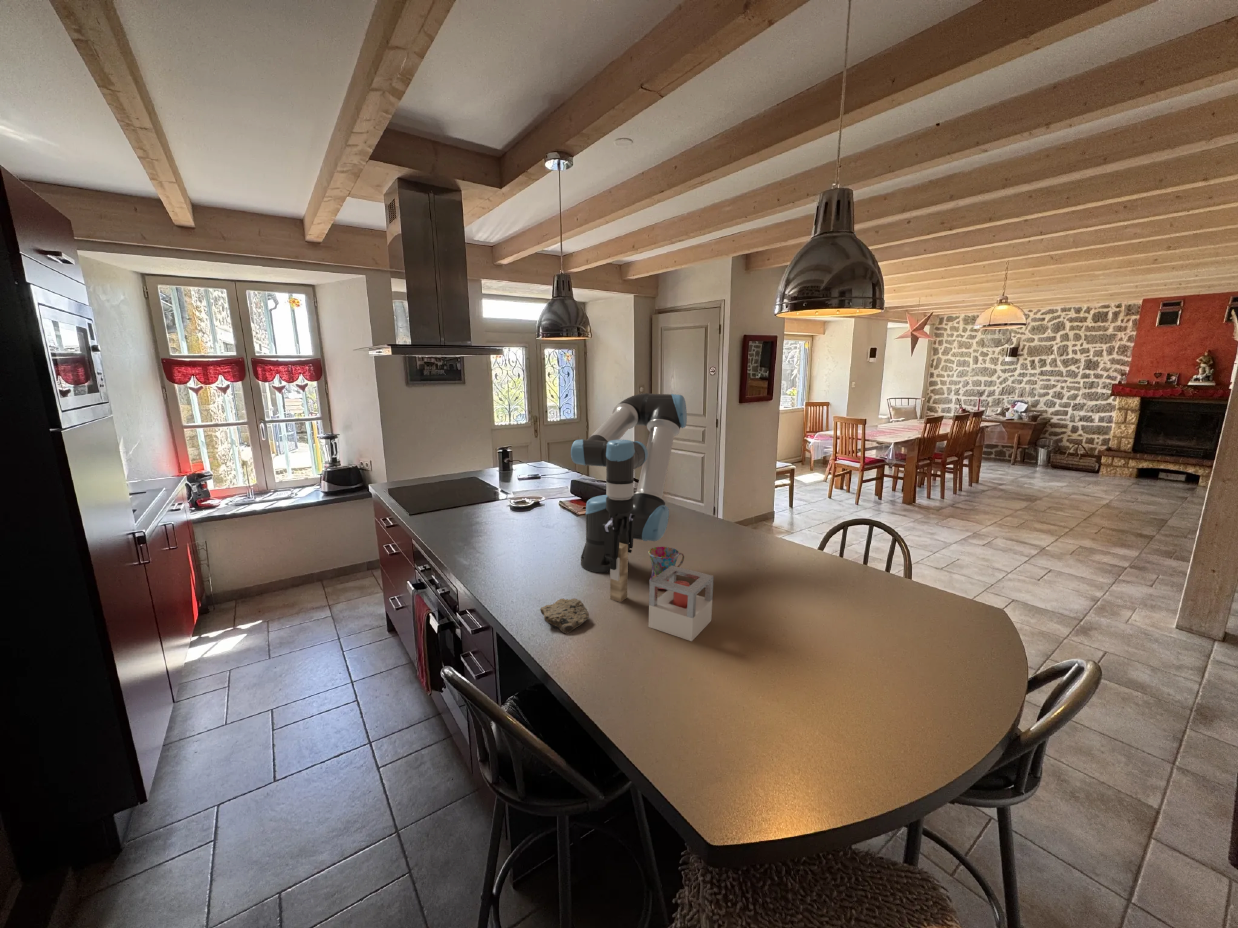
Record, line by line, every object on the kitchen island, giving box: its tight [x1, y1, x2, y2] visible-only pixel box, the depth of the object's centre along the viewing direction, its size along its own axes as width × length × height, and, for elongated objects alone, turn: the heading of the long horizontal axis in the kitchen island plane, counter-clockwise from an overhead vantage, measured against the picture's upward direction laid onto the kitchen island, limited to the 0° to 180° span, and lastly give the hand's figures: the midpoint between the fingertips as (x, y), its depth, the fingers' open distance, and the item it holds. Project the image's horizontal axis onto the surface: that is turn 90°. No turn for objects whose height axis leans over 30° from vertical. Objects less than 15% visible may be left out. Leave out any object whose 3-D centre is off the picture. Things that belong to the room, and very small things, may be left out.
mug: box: [647, 546, 685, 590], centre depth 149 cm, size 12×9×11 cm
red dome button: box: [673, 580, 691, 609], centre depth 125 cm, size 4×4×8 cm
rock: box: [539, 597, 590, 634], centre depth 127 cm, size 11×12×4 cm
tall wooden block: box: [609, 543, 629, 603], centre depth 139 cm, size 4×4×16 cm
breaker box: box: [648, 590, 713, 642], centre depth 126 cm, size 12×12×6 cm
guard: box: [648, 565, 714, 618], centre depth 125 cm, size 12×12×6 cm
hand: (618, 576), depth 139 cm, fingers closed on tall wooden block, 3 cm apart
